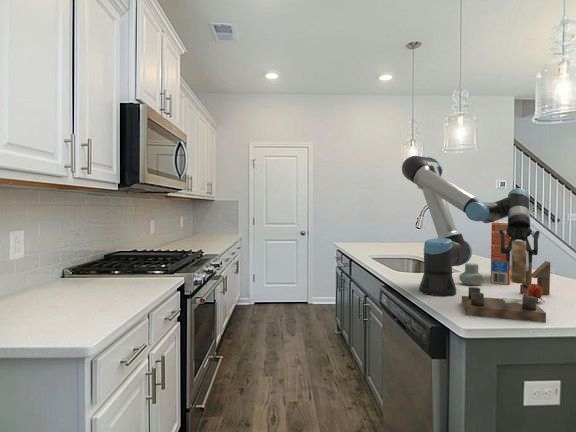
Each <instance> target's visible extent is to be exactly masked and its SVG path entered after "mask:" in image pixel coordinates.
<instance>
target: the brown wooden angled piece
mask: <svg viewBox="0 0 576 432" xmlns="http://www.w3.org/2000/svg"><path fill="white" fill-rule="evenodd" d="M532 264H533V262H532V263H531V262H529V270H528V271H526V283H524V284H519V285H520V286H519V287H520V288H519V292H520V293H521V294H523V290H524V289H525V287H523V286H524V285H525V286H527V285H530V284H533V283H532V279H536V282H537V283H536V284H538V285H539V286H541V288H542V289H543V295H542V296H545V295H547V296H549V295H550V292H551V291H550V289H551V288H550V287H551V286H550V283H551V279H550V278H551V261H549V260H548V261H547V260H544V262H543V263H541V265H540V266H538V267H537V268H536V269H535V270H534V271H533V265H532Z"/></svg>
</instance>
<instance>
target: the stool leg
mask: <svg viewBox="0 0 576 432" xmlns="http://www.w3.org/2000/svg"><path fill="white" fill-rule="evenodd" d="M526 252H527V251H526V241H522V240H515V241H512V281H511V283H513V284H519V285H521V284H524V283H526Z"/></svg>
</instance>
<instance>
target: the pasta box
mask: <svg viewBox="0 0 576 432" xmlns="http://www.w3.org/2000/svg"><path fill="white" fill-rule="evenodd" d="M507 228H508V221H495V222H491V234H490V235H491V236H490V237H491V239H490V241H491V242H490V243H491V245H490V246H491V247H490V284H494V285H495V284H496V285H506V286H509V285H511V283H512V270H510V261H506V254H505V253H504V254H502V253H501V238H500V236H499V230H502V231H505V230H506V229H507ZM510 238H511V237H510V236H509V235H508V234H506V236H505V237H504V239H505V249H507V246H508V244H509V241H510ZM511 251H512V250H511Z"/></svg>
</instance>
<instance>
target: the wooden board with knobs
mask: <svg viewBox="0 0 576 432" xmlns="http://www.w3.org/2000/svg"><path fill="white" fill-rule="evenodd" d="M462 305H463V306H462ZM461 306H462V308H463V312H464V313H465V316H471V315H472V317H473V316H474V317H483V318H494V319H495V318H497V319H504V320H505V319H506V320H507V319H508V320H516V319H517V320H516V321H519V320H520V321H528V320H530V322H539V321H540V322H541V323H546V322H547V312H546V311H545V310H543V308H541V307H540V306H539V305H538V304H537V302H536V297H532V296H524V295H522V299H521V298H520V299H519V298H508V297H502V298H499V297H498V298H497V297H485V293H482V292H481V288H480V287H476V286H469V287H468V295H462V296H461ZM540 322H539V323H540Z"/></svg>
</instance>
